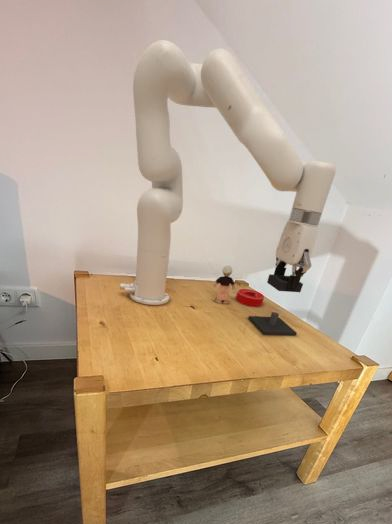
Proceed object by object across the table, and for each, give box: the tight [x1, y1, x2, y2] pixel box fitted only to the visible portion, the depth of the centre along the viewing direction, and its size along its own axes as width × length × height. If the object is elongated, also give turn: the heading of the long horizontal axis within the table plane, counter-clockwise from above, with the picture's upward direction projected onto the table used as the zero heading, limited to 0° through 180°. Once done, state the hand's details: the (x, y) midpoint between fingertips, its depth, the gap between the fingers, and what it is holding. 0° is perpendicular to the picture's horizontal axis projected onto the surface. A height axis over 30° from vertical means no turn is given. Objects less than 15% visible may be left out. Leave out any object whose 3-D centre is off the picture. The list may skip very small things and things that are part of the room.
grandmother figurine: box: [212, 265, 236, 305], centre depth 101 cm, size 8×4×13 cm, turn 111°
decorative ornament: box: [235, 288, 265, 307], centre depth 109 cm, size 10×10×3 cm
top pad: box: [266, 274, 304, 293], centre depth 85 cm, size 7×7×2 cm
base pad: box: [247, 311, 297, 336], centre depth 91 cm, size 11×11×4 cm
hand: (284, 284), depth 85 cm, fingers closed on top pad, 7 cm apart
